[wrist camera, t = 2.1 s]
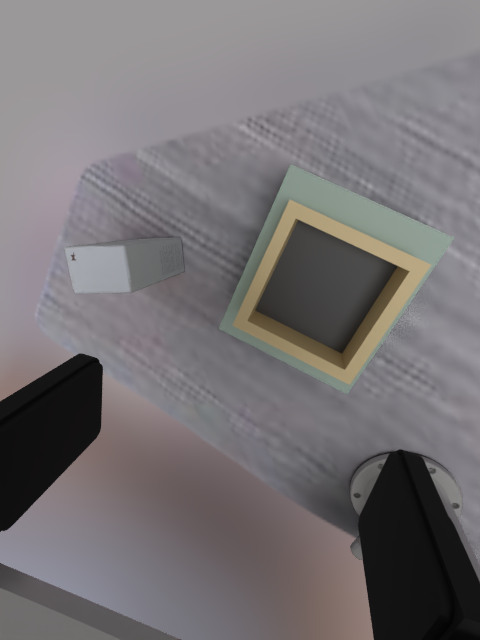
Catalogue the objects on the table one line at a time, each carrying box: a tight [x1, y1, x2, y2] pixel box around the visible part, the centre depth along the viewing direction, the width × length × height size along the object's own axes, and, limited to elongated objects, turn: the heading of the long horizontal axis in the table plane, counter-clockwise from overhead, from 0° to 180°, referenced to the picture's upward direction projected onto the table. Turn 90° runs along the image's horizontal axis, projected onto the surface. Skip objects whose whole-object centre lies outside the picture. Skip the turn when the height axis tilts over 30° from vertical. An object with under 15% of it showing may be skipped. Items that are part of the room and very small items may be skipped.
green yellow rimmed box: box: [219, 164, 454, 394], centre depth 29 cm, size 16×14×10 cm
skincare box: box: [65, 237, 185, 293], centre depth 32 cm, size 6×4×12 cm
